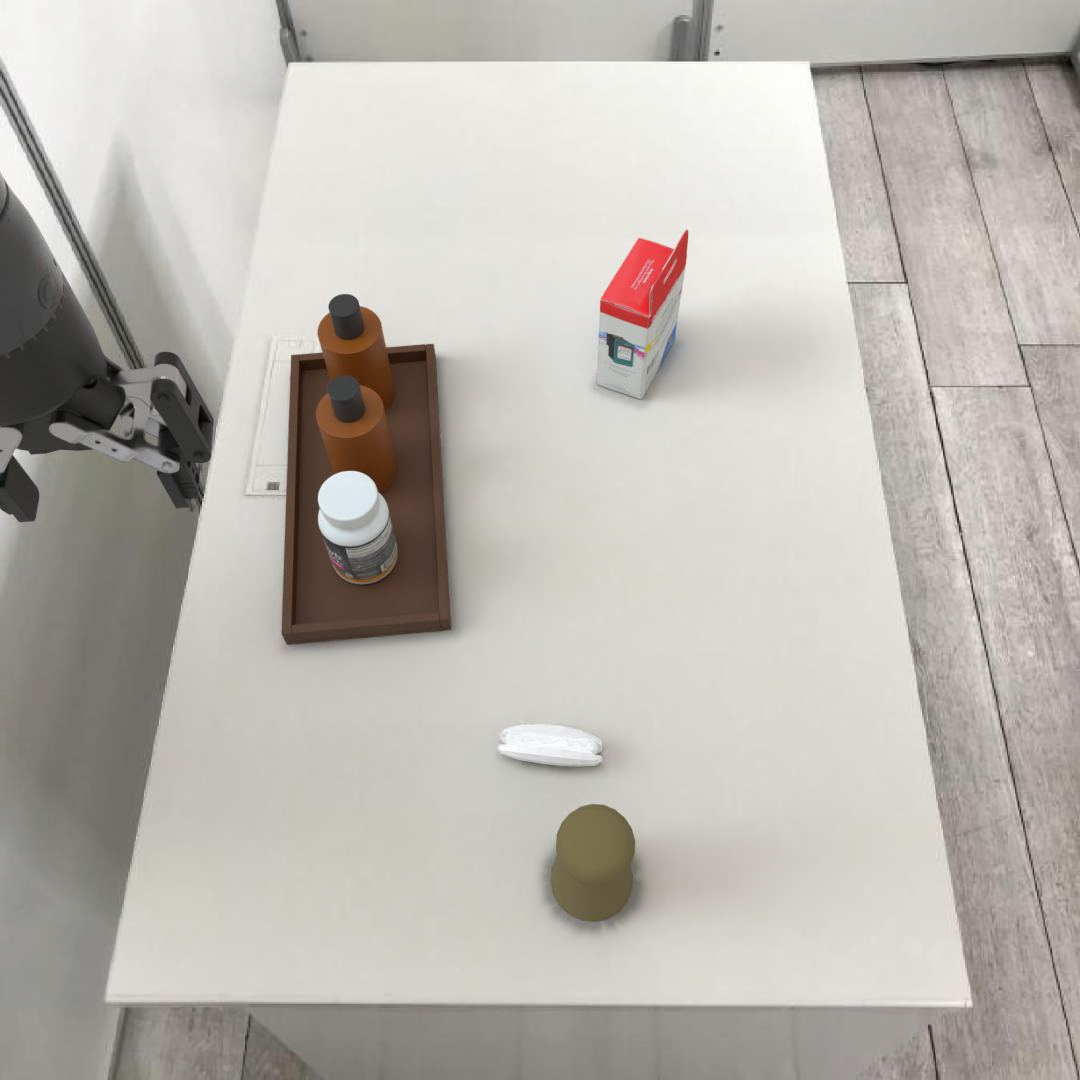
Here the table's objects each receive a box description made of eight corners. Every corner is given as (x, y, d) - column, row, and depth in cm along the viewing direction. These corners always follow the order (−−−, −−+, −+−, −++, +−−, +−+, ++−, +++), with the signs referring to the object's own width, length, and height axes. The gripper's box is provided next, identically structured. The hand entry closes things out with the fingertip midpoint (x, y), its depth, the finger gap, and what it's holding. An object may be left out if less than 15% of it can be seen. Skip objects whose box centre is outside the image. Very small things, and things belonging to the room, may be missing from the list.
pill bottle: (323, 546, 92) (299, 481, 84) (383, 520, 93) (366, 454, 85) (347, 597, 89) (325, 536, 81) (410, 570, 91) (395, 507, 82)
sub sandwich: (600, 776, 82) (601, 763, 79) (497, 764, 82) (495, 751, 80) (604, 737, 83) (605, 724, 81) (502, 726, 84) (501, 713, 82)
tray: (286, 644, 88) (281, 634, 86) (295, 368, 103) (291, 354, 101) (451, 629, 88) (449, 619, 87) (435, 357, 104) (433, 343, 102)
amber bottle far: (335, 420, 99) (309, 332, 89) (335, 373, 102) (310, 283, 92) (395, 415, 99) (377, 326, 89) (394, 368, 102) (376, 278, 92)
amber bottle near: (335, 500, 94) (307, 417, 84) (335, 449, 97) (309, 363, 87) (398, 495, 95) (378, 412, 84) (396, 444, 98) (377, 358, 87)
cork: (628, 834, 79) (638, 788, 70) (637, 918, 76) (648, 882, 67) (547, 840, 79) (546, 794, 70) (553, 924, 76) (552, 888, 67)
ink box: (630, 324, 105) (640, 208, 93) (676, 341, 104) (693, 225, 92) (594, 385, 101) (599, 273, 89) (641, 403, 100) (654, 292, 88)
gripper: (147, 220, 48) (240, 437, 61) (-178, 244, 47) (-10, 457, 61) (130, 347, 44) (233, 548, 58) (-225, 376, 43) (-34, 571, 57)
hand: (108, 501), depth 59 cm, fingers open, 8 cm apart
